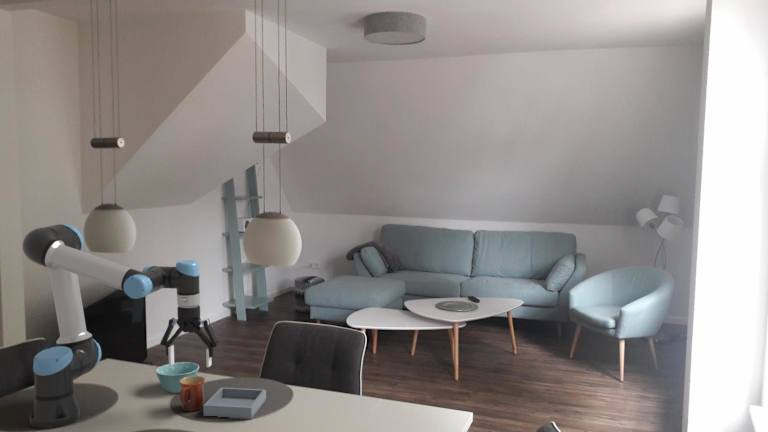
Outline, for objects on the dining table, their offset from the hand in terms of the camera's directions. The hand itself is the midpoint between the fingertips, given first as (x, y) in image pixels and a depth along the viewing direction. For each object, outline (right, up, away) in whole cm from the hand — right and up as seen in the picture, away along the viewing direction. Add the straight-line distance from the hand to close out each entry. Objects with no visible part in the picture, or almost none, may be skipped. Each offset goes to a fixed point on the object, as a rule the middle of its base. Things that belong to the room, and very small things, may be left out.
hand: (190, 365), depth 222 cm
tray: (+15, -16, +4) cm, 22 cm away
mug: (0, -16, +2) cm, 17 cm away
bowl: (-11, -14, +22) cm, 28 cm away
